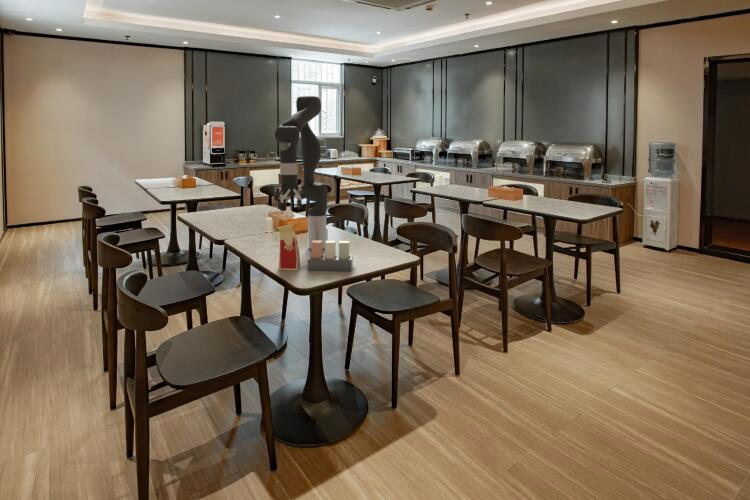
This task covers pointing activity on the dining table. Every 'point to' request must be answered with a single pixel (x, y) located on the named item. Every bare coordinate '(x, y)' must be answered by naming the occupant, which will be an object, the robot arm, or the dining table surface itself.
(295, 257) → the milk carton
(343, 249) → the sage key
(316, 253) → the terracotta key
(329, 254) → the ivory key
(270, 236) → the dining table surface
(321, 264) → the frame
